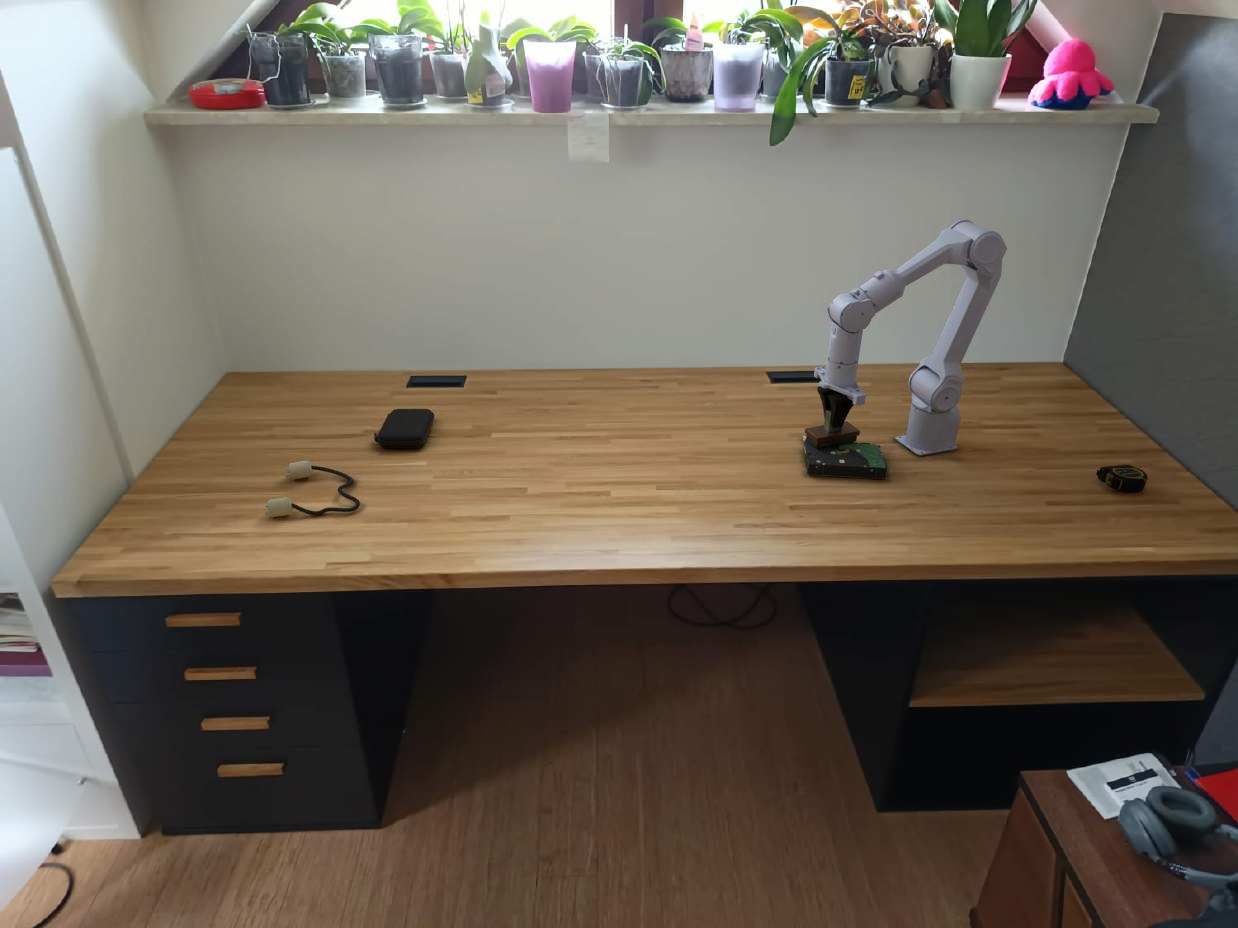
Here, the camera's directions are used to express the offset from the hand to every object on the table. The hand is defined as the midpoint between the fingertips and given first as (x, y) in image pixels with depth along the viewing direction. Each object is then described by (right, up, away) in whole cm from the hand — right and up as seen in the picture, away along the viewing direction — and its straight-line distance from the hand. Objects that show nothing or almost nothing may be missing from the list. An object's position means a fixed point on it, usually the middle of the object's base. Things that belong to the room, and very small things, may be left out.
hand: (833, 424), depth 169 cm
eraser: (-2, -3, +7) cm, 8 cm away
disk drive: (+2, -8, -1) cm, 8 cm away
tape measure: (+51, -12, -7) cm, 53 cm away
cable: (-96, -13, -12) cm, 98 cm away
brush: (0, -3, +2) cm, 4 cm away
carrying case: (-86, -2, +9) cm, 86 cm away
